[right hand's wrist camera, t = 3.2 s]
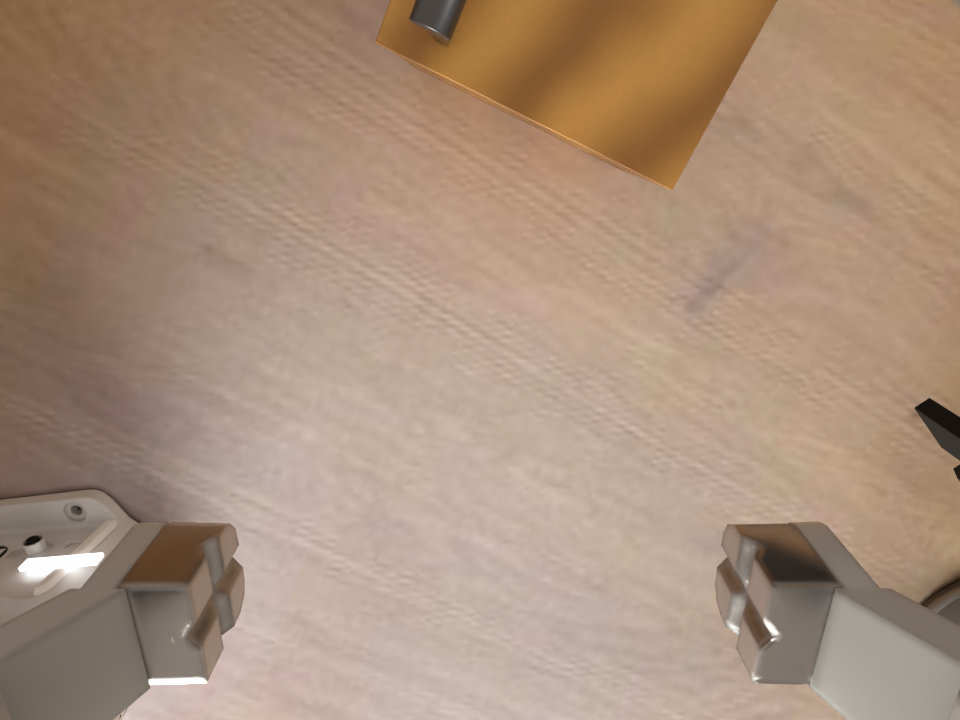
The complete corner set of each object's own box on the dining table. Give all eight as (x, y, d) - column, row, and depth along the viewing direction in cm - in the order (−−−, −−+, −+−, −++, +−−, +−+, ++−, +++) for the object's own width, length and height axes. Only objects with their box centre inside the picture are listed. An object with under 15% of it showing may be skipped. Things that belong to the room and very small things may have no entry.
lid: (377, 44, 29) (345, 22, 21) (463, -193, 26) (457, -311, 18) (667, 188, 31) (724, 211, 24) (777, -12, 28) (881, -55, 21)
